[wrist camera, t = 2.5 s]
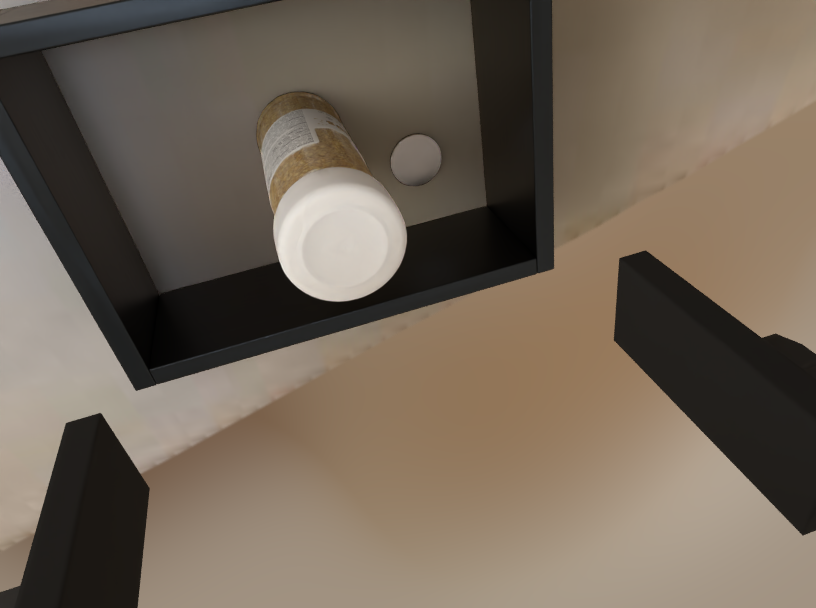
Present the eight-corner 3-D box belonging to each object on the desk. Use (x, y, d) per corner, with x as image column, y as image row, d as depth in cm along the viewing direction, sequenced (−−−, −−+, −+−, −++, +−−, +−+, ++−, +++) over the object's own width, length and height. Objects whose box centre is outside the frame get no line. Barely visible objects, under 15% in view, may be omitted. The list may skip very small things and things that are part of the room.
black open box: (483, -86, 28) (552, -87, 22) (502, 215, 37) (554, 269, 31) (-6, 10, 25) (-70, 38, 19) (148, 312, 34) (135, 391, 28)
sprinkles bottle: (358, 143, 32) (433, 258, 21) (290, 191, 32) (329, 328, 22) (308, 69, 29) (364, 158, 19) (234, 123, 30) (248, 240, 19)
